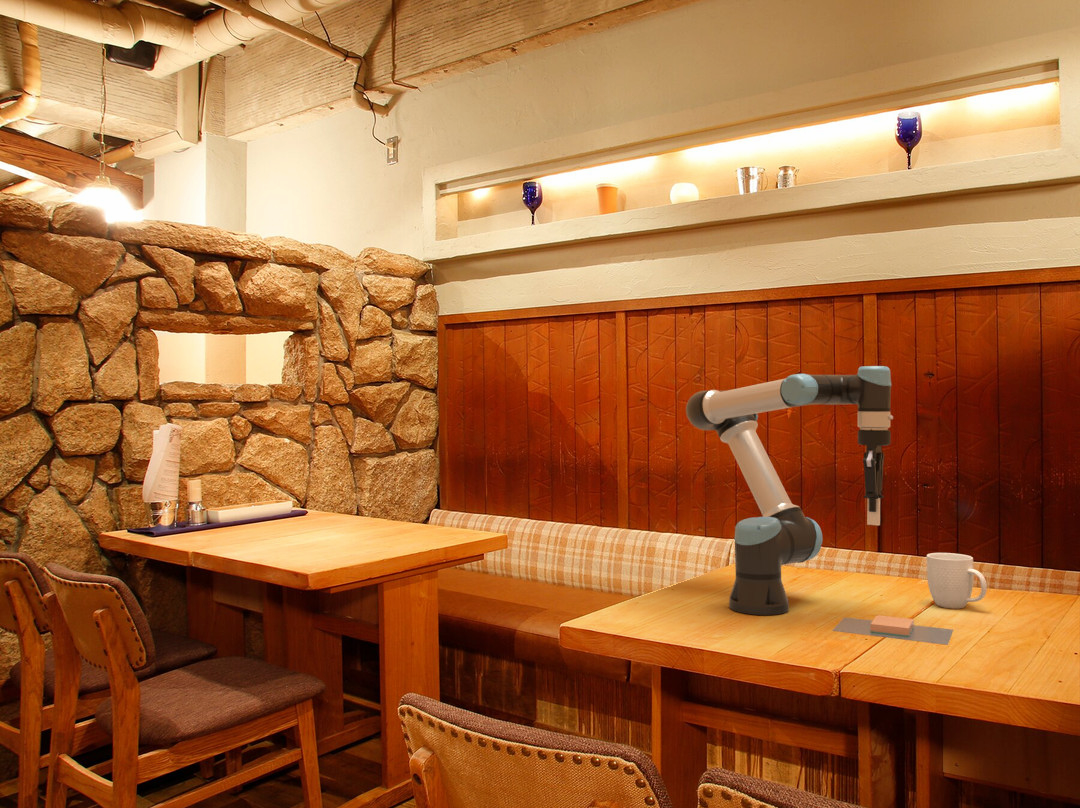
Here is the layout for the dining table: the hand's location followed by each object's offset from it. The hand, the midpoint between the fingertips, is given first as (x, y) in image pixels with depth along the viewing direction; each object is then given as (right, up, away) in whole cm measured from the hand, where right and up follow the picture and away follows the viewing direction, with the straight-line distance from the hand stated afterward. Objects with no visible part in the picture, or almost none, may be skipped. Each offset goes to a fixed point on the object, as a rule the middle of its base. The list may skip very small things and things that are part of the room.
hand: (873, 524), depth 201 cm
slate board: (-1, -24, -13) cm, 27 cm away
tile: (+1, -22, -9) cm, 23 cm away
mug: (+26, -24, +13) cm, 38 cm away
